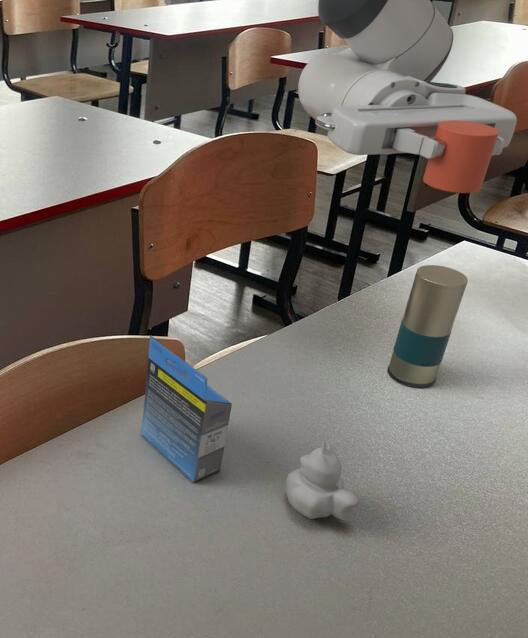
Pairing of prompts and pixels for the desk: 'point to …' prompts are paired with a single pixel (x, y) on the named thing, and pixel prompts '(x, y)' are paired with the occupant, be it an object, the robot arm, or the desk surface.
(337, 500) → the grey animal figurine
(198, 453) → the tape cartridge
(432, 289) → the spray can
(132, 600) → the desk surface
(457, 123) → the cap
